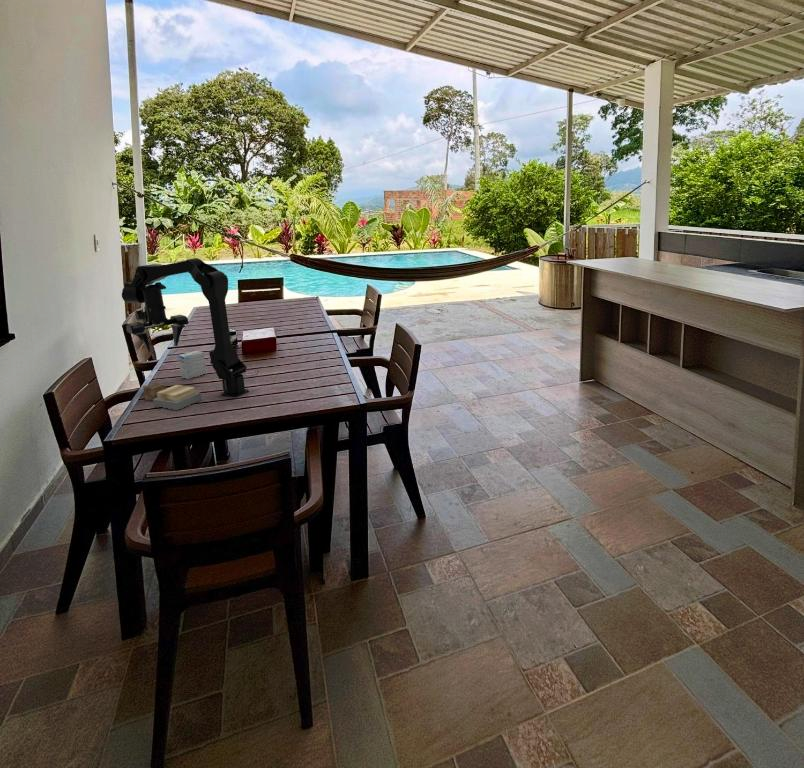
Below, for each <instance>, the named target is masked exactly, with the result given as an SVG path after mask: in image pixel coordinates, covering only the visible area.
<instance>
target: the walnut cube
mask: <svg viewBox="0 0 804 768" xmlns="http://www.w3.org/2000/svg"><path fill="white" fill-rule="evenodd" d="M142 387H143V394H144V399H145V400H146V401H150V400H152V401H151V402H153V399H155V398H157V392H159V391H162V390H165V389H166V388H165V384H164V383H158V382H157V383H156V382H154V383H150V384H148V385H145V386H142Z"/></svg>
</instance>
